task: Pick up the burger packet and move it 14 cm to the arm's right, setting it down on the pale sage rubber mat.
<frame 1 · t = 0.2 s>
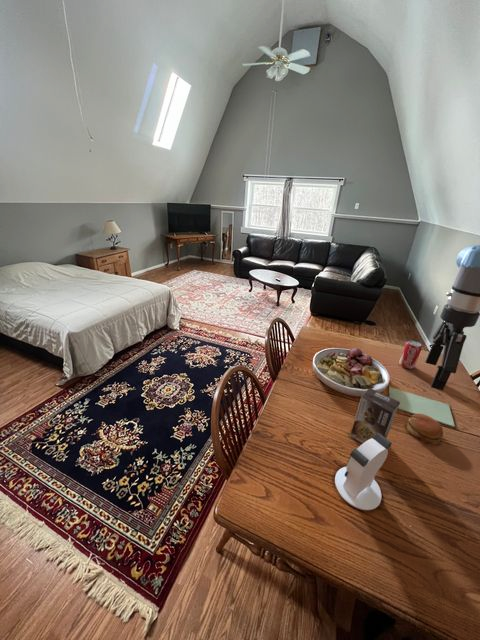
hand: (433, 375, 78), 23 cm above the table, tool pointing down, fingers open, 13 cm apart
burger: (422, 432, 88), on the table
coffee box: (367, 439, 85), on the table
beverage can: (406, 366, 123), on the table
white oval-base stand: (358, 486, 70), on the table
mat: (418, 405, 99), on the table
bowl: (347, 376, 114), on the table
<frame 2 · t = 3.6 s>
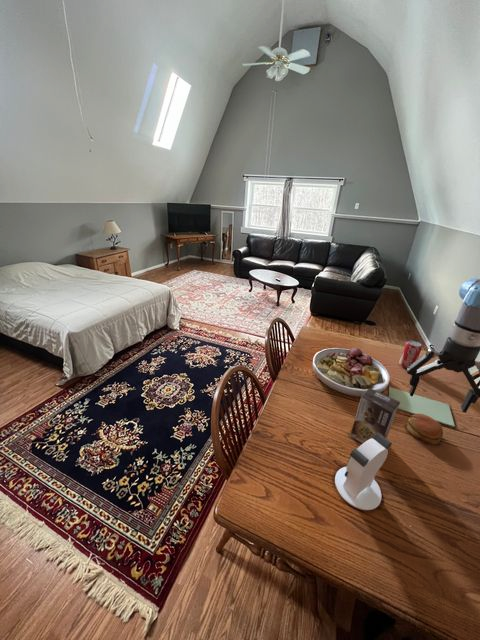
hand: (436, 401, 82), 13 cm above the table, tool pointing down, fingers open, 13 cm apart
nothing on the table moved.
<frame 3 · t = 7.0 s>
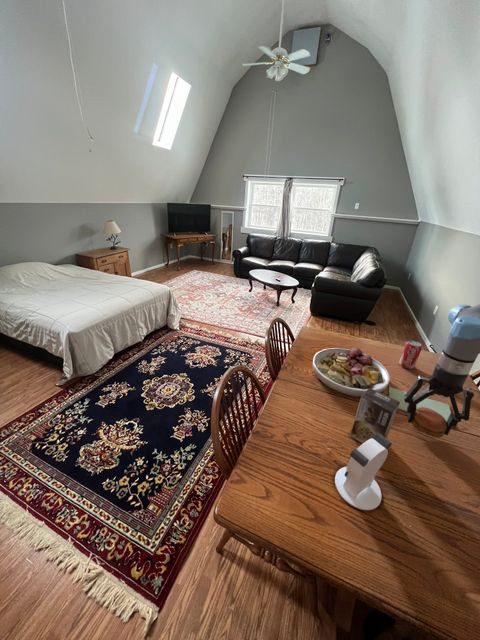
hand: (426, 425, 87), 3 cm above the table, tool pointing down, fingers closed on burger, 9 cm apart
burger: (425, 426, 87), point 3 cm above the table, touching gripper
everything else where it was.
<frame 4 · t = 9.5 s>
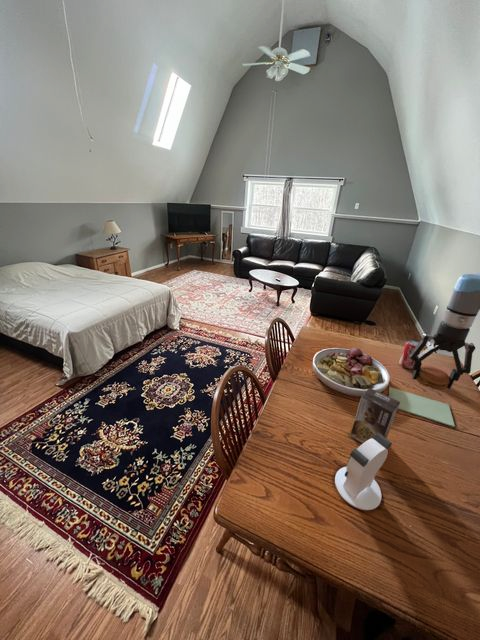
hand: (430, 381, 93), 12 cm above the table, tool pointing down, fingers closed on burger, 9 cm apart
burger: (429, 382, 93), point 11 cm above the table, touching gripper
everything else where it was.
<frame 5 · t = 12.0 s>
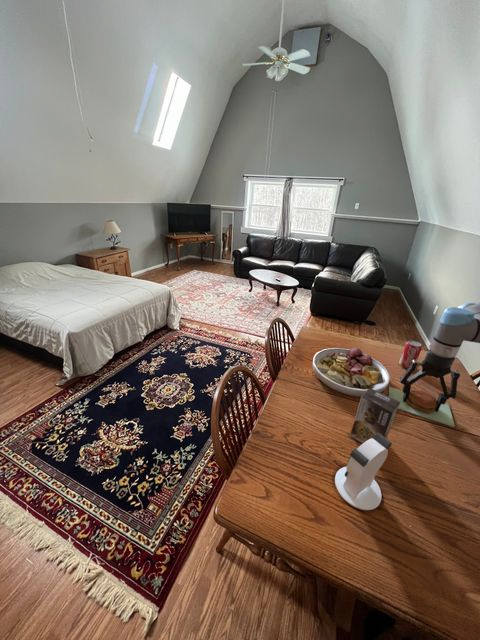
hand: (419, 404, 99), 1 cm above the table, tool pointing down, fingers closed on burger, 9 cm apart
burger: (418, 405, 99), on the table, touching gripper, mat
everything else where it was.
when the fingers open (1 cm above the table, at t = 12.4 s): burger stays where it is, resting on mat.
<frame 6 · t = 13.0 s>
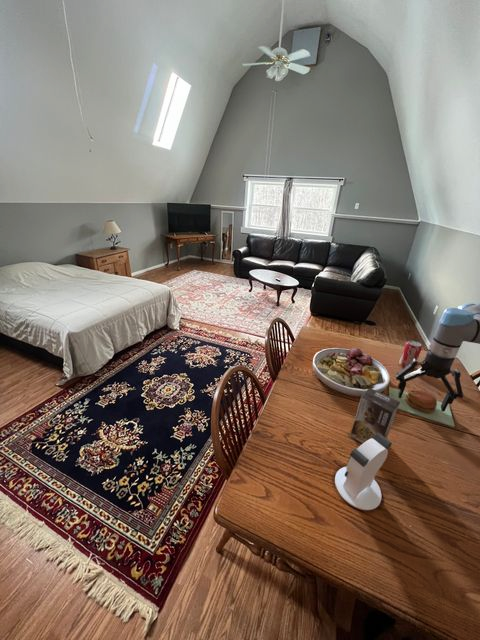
hand: (420, 402, 98), 2 cm above the table, tool pointing down, fingers open, 13 cm apart
burger: (418, 405, 99), resting on mat
everything else where it was.
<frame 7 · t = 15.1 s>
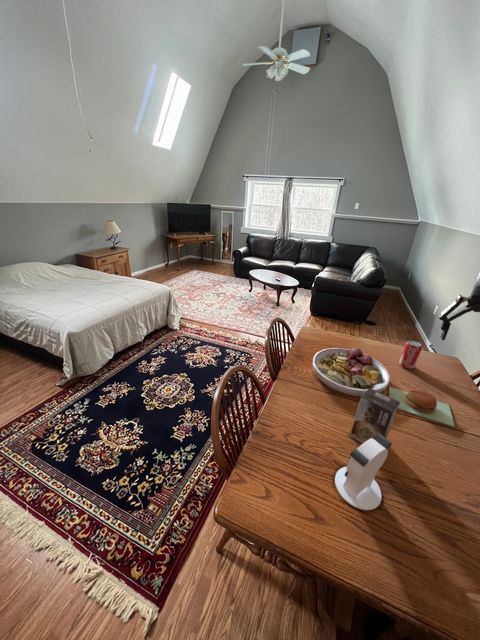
hand: (465, 343, 94), 24 cm above the table, tool pointing down, fingers open, 13 cm apart
nothing on the table moved.
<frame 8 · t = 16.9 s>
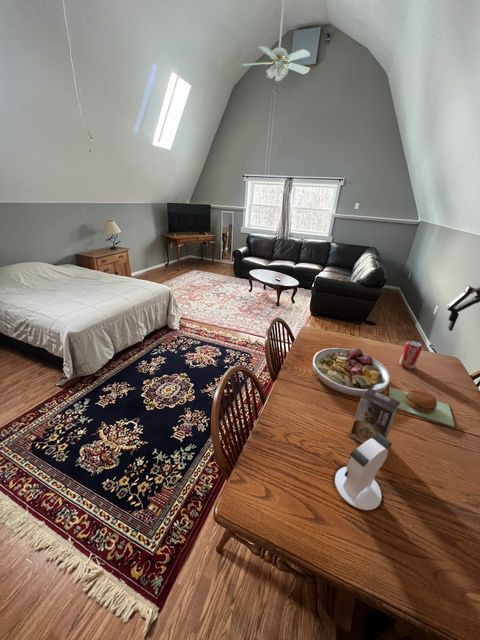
hand: (472, 334, 95), 27 cm above the table, tool pointing down, fingers open, 13 cm apart
nothing on the table moved.
at the end: burger 0.1 cm from the mat (horizontally); burger on the table; the gripper is holding nothing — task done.
